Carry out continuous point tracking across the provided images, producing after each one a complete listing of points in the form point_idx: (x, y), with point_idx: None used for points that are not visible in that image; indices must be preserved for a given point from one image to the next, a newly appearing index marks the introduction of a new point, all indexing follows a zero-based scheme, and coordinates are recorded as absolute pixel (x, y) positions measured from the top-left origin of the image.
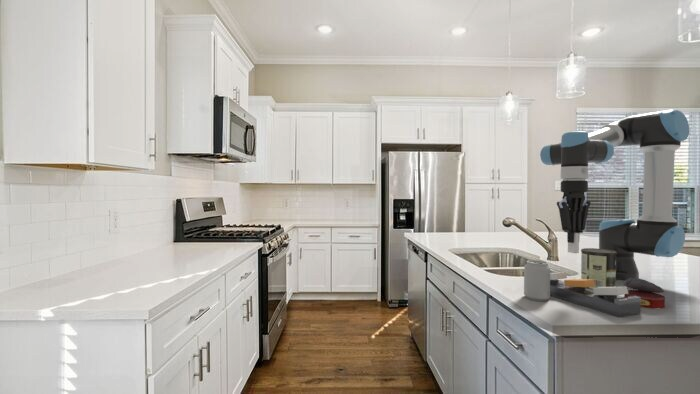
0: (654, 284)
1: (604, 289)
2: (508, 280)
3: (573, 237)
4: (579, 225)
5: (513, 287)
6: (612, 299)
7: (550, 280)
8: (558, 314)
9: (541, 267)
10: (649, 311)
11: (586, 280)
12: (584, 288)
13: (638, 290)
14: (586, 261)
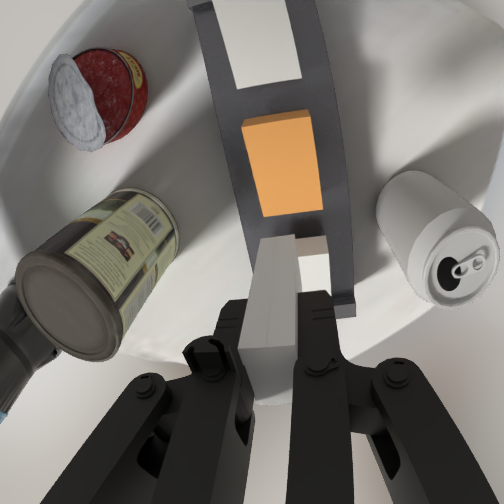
0: (66, 55)
1: (291, 31)
2: None
3: (303, 325)
4: (205, 429)
5: (379, 311)
6: None
7: None
8: (463, 66)
9: (481, 220)
10: (156, 23)
11: (296, 118)
12: None
13: (72, 141)
14: (134, 291)
